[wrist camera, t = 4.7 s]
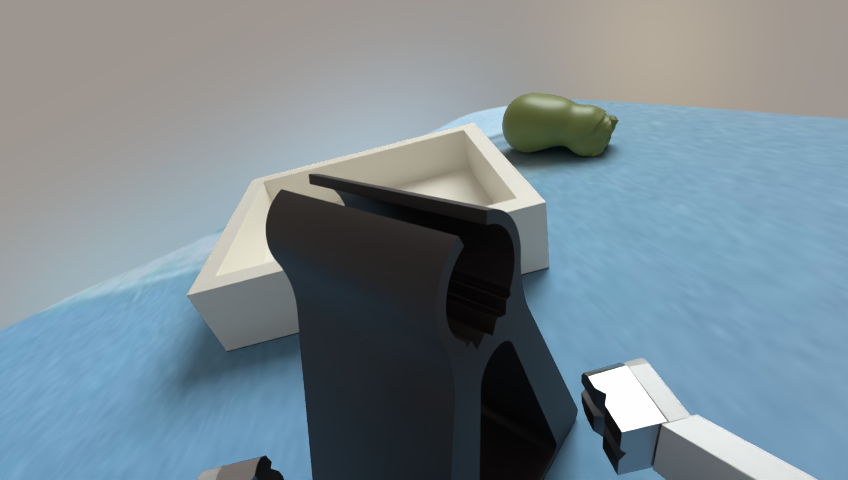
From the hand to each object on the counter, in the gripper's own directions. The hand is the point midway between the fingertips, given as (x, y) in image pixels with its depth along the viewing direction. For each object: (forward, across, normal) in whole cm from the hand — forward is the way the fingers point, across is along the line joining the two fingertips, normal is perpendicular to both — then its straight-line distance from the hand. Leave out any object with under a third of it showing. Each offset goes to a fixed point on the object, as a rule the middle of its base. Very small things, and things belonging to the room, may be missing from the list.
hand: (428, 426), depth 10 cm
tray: (+20, +2, +6) cm, 21 cm away
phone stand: (+2, 0, +7) cm, 7 cm away
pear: (+28, -16, +7) cm, 33 cm away
